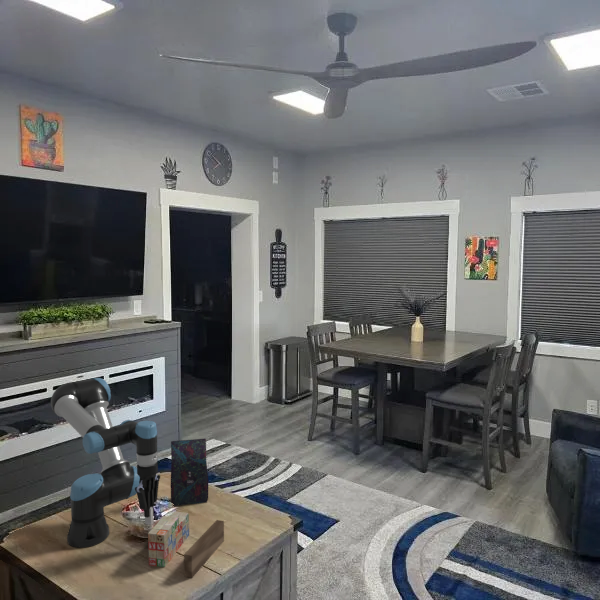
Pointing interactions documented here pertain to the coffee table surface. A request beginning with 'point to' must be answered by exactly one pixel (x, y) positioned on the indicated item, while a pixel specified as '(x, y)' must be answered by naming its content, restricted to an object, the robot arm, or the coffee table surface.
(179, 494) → the decorative box
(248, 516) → the coffee table surface
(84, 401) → the robot arm
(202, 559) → the walnut board
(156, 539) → the stack of blocks
